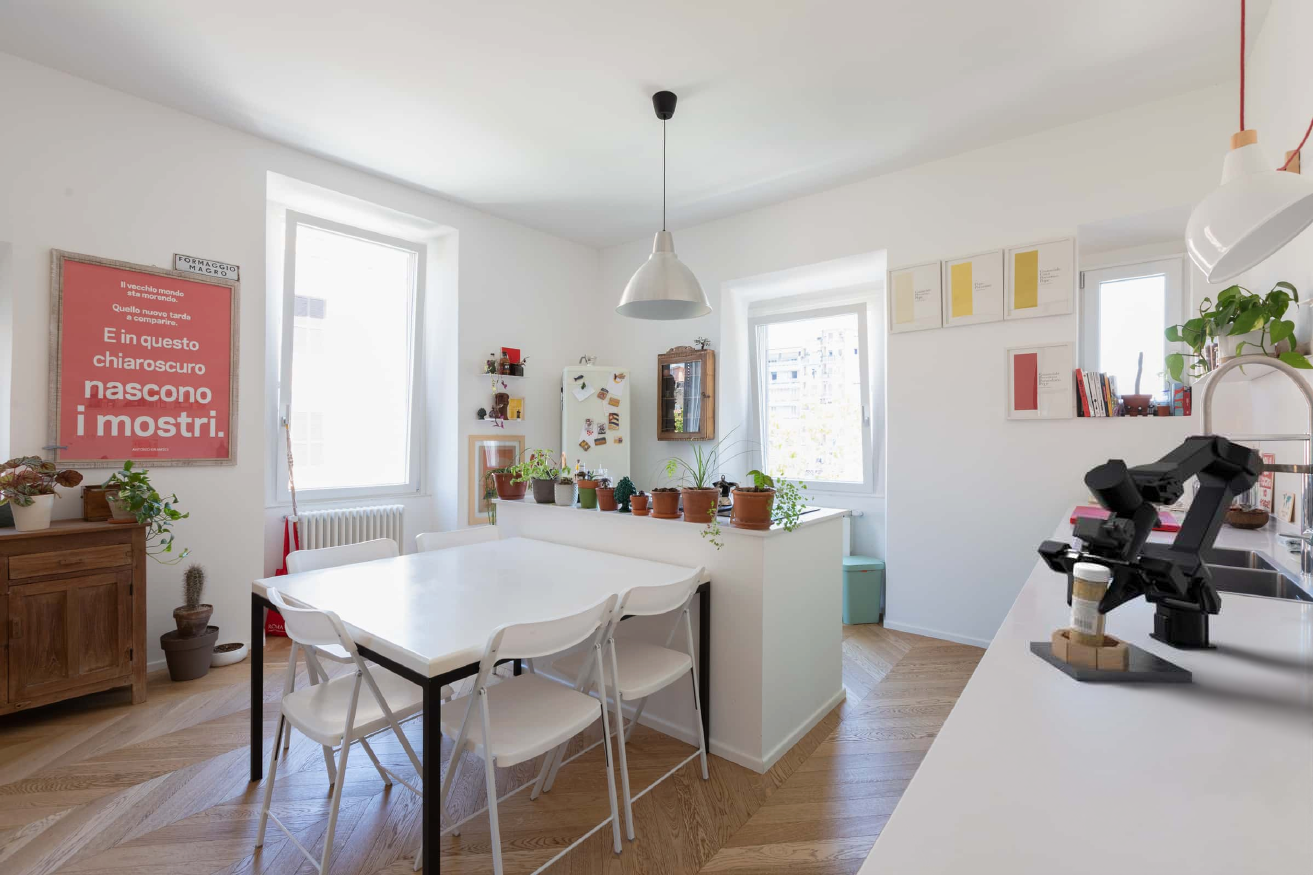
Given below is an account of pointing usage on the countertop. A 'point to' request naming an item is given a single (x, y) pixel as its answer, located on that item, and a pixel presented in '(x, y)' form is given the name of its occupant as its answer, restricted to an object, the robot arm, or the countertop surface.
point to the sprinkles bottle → (1088, 604)
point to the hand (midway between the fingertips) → (1084, 608)
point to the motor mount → (1107, 661)
